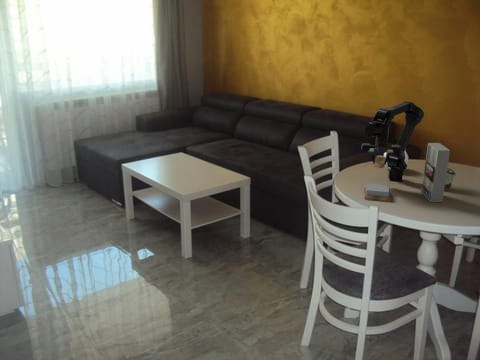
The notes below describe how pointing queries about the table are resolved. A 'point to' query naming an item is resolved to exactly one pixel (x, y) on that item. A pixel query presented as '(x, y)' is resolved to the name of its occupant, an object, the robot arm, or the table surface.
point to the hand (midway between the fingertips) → (379, 164)
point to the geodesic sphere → (405, 159)
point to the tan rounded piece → (379, 161)
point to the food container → (449, 178)
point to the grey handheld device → (435, 172)
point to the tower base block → (377, 197)
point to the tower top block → (377, 190)
